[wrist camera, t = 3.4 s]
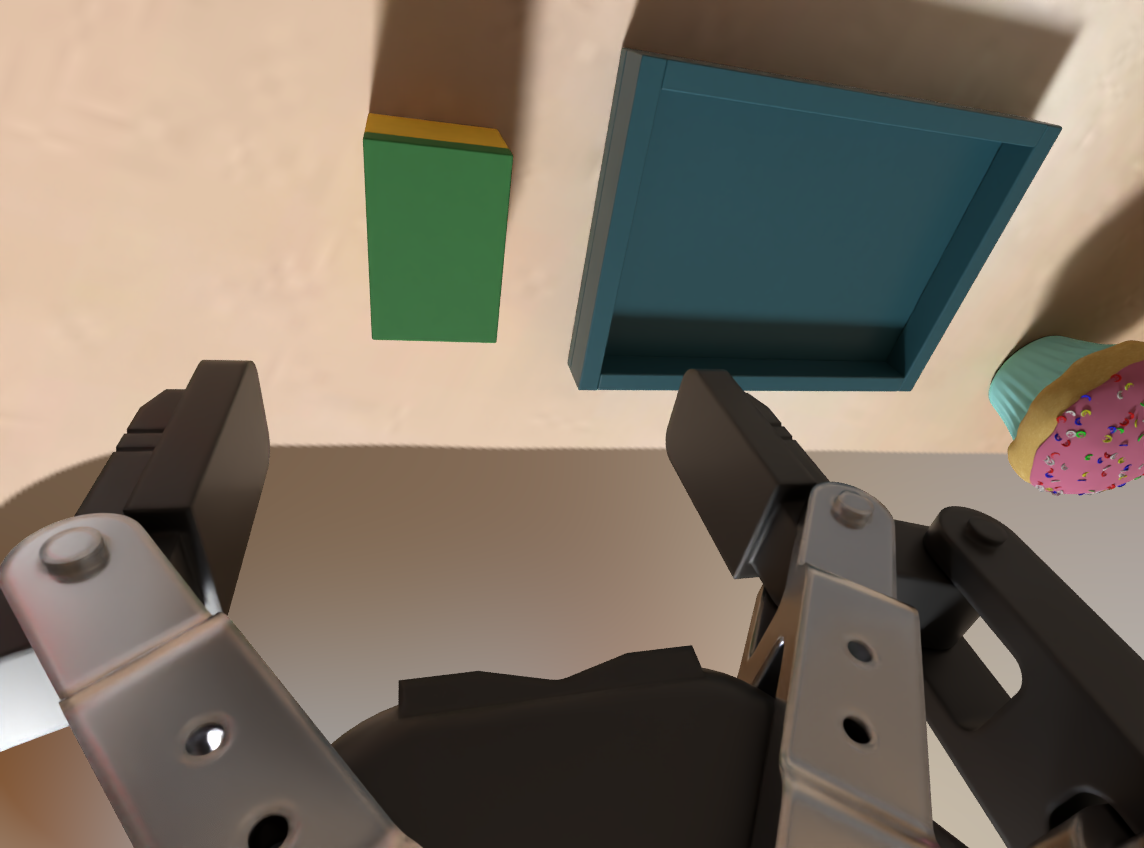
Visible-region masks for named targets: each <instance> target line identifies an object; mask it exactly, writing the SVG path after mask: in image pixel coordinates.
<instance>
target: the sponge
mask: <svg viewBox="0 0 1144 848" xmlns="http://www.w3.org/2000/svg"><path fill="white" fill-rule="evenodd" d="M363 152H364V173H365V195H366V217H367V239H368V261H369V283H370V305H371V327H372V339H373V340H406V341H444V342H481V343H496V340H497V329H498V318H499V307H500V296H501V285H502V274H503V263H504V252H505V241H506V230H507V219H508V208H509V197H510V186H511V175H512V164H513V155H512V153H511V151H510V150H509V148H508V146H507V145H506V143H505V141H504V140H503V138H502V137H501V135H500V133H499V132H498V130H497V129H492V128H484V127H476V126H468V125H460V124H452V123H444V122H436V121H428V120H420V119H412V118H405V117H397V116H389V115H381V114H373V113H369V114H368V118H367V123H366V127H365V132H364V137H363Z"/></svg>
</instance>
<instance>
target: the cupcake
mask: <svg viewBox="0 0 1144 848" xmlns="http://www.w3.org/2000/svg"><path fill="white" fill-rule="evenodd" d="M989 399H990V402H991V404H992V406H993V407H994V408H995V410H996V411H997V412H998V414H999V415H1000V417H1001V418H1002V420H1003V421H1004V423H1005V425H1006V426H1007V428H1008V430H1009V432H1010V434H1011V436H1012V438H1013V442H1012V443H1011V444H1010V445H1009V447H1008V460H1009V462H1010V464H1011V466H1012V468H1013V469H1014V470H1015V472H1016V473H1017V474H1018V475H1019V476H1020V477H1021V478H1022V479H1023V480H1025V481H1027V482H1029V483H1031V484H1032V485H1033V486H1035V487H1036V488H1038V489H1039V491H1041V492H1042V491H1048V492H1051V493H1052V494H1053V495H1054V496H1059V495H1060V494H1078V495H1083V494H1085V495H1092V494H1093V493H1100V492H1102V491H1105V490H1110V489H1113V488H1115V487H1116V486H1118V487H1122V486H1124V485H1125V484H1126V482H1129V481H1131V480H1133V479H1134V480H1136V479H1138V478H1140V477H1141V476H1142V475H1144V342H1140V341H1133V340H1131V341H1125V342H1122V343H1119V344H1110V345H1109V344H1098V343H1092V342H1087V341H1082V340H1077V339H1072V338H1068V337H1064V336H1048V337H1044V338H1041V339H1038V340H1035V341H1033V342H1031V343H1029V344H1028V345H1026V346H1024V347H1023V348H1021V349H1020V350H1018V351H1017V352H1016V353H1015V354H1013V355H1012V356H1011V357H1010V358H1009V359H1008V360H1007V361H1006V362H1005V363H1004V364H1003V365H1002V367H1001V368H1000V369H999V370H998V372H997V373H996V375H995V377H994V378H993V380H992V383H991V385H990V389H989ZM1122 484H1123V485H1122ZM1120 485H1121V486H1120ZM1055 493H1056V494H1057V495H1056V494H1055ZM1087 493H1089V494H1087Z"/></svg>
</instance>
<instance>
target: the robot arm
mask: <svg viewBox="0 0 1144 848" xmlns="http://www.w3.org/2000/svg"><path fill="white" fill-rule="evenodd" d="M666 450H667V454H668V457H669V459H670V461H671V463H672V465H673V467H674V469H675V471H676V472H677V474H678V476H679V478H680V480H681V482H682V483H683V485H684V487H685V489H686V491H687V493H688V495H689V497H690V498H691V500H692V502H693V504H694V506H695V508H696V510H697V511H698V513H699V515H700V517H701V519H702V521H703V523H704V524H705V526H706V528H707V530H708V532H709V534H710V535H711V537H712V539H713V541H714V543H715V545H716V547H717V548H718V550H719V552H720V554H721V556H722V558H723V559H724V561H725V563H726V565H727V567H728V569H729V571H730V572H731V574H732V576H733V578H734V579H741V578H753V577H759V578H760V580H761V581H762V583H763V585H762V587H761V589H760V591H759V593H758V595H757V598H756V602H755V607H754V611H753V615H752V619H751V623H750V628H749V632H748V636H747V641H746V644H745V649H744V653H743V657H742V662H741V665H740V669H739V673H738V676H737V678H736V677H733V676H730V675H728V674H725V673H721V672H717V671H714V670H710V669H706V668H701V665H700V663H699V661H698V658H697V656H696V654H695V652H694V649H693V647H692V646H682V647H674V648H666V649H657V650H649V651H640V652H632V653H626V654H624V655H621V656H619V657H616V658H614V659H611V660H609V661H606V662H604V663H602V664H599V665H597V666H594V667H592V668H589V669H587V670H584V671H582V672H580V673H577V674H575V675H572V676H570V677H568V678H564V679H560V680H549V679H541V678H532V677H523V676H516V675H507V674H499V673H491V672H483V671H474V672H465V673H458V674H449V675H441V676H432V677H424V678H416V679H407V680H399V705H397V706H394V707H392V708H389V709H387V710H385V711H382V712H380V713H378V714H376V715H374V716H372V717H370V718H368V719H366V720H365V721H363V722H361V723H359V724H358V725H356V726H355V727H353V728H352V729H350V730H349V731H347V732H346V733H345V734H343V735H342V736H341V737H339V738H338V739H337V740H336V741H335V742H333V743H332V744H330V743H329V742H328V740H327V739H326V738H325V736H324V735H323V734H322V733H321V731H320V730H319V729H318V728H317V727H316V725H315V724H314V723H313V721H312V720H311V719H310V718H309V716H308V715H307V714H306V713H305V711H304V710H303V709H302V708H301V707H300V705H299V704H298V703H297V701H296V700H295V699H294V698H293V697H292V695H291V694H290V693H289V692H288V690H287V689H286V688H285V686H284V685H283V684H282V683H281V681H280V680H279V679H278V678H277V676H276V675H275V674H274V673H273V671H272V670H271V669H270V668H269V667H268V665H267V664H266V663H265V661H264V660H263V659H262V658H261V656H260V655H259V654H258V653H257V652H256V650H255V649H254V648H253V647H252V645H251V644H250V643H249V642H248V640H247V639H246V638H245V636H244V635H243V634H242V633H241V631H240V630H239V629H238V628H237V627H236V625H235V624H234V623H233V622H232V621H231V620H230V618H229V617H228V612H229V609H230V605H231V601H232V598H233V594H234V591H235V587H236V583H237V580H238V576H239V572H240V569H241V565H242V561H243V558H244V554H245V550H246V547H247V543H248V540H249V536H250V532H251V528H252V525H253V521H254V518H255V514H256V510H257V507H258V503H259V500H260V495H261V492H262V488H263V485H264V481H265V477H266V474H267V470H268V466H269V458H270V440H269V432H268V427H267V421H266V416H265V410H264V405H263V400H262V394H261V389H260V383H259V378H258V373H257V369H256V366H255V364H254V362H253V361H235V360H202V361H201V362H200V363H199V364H198V366H197V368H196V370H195V372H194V374H193V376H192V378H191V380H190V382H189V384H188V385H187V387H186V389H166V390H164V391H163V392H162V393H160V394H159V395H157V396H156V397H155V398H153V399H152V400H150V401H149V402H147V403H146V404H145V405H143V406H142V407H140V409H139V410H138V412H137V414H136V415H135V417H134V418H133V420H132V422H131V423H130V425H129V427H128V428H127V434H124V435H123V437H122V438H121V440H120V442H119V443H118V445H117V447H116V452H113V453H112V455H111V456H110V458H109V460H108V461H107V463H106V465H105V466H104V468H103V470H102V471H101V473H100V475H99V476H98V478H97V480H96V481H95V483H94V485H93V486H92V488H91V490H90V491H89V493H88V495H87V497H86V498H85V499H84V501H83V503H82V505H81V506H80V508H79V509H78V511H77V513H76V514H75V516H74V517H72V518H68V519H64V520H62V521H59V522H56V523H53V524H51V525H49V526H46V527H44V528H42V529H40V530H39V531H37V532H35V533H33V534H31V535H30V536H29V537H27V538H26V539H24V540H23V541H22V542H20V543H19V544H18V545H17V546H16V547H14V548H13V549H12V550H11V552H10V553H9V554H8V555H7V556H6V557H5V559H4V561H3V562H2V564H1V566H0V751H3V750H6V749H8V748H11V747H13V746H16V745H19V744H22V743H24V742H27V741H30V740H32V739H35V738H37V737H40V736H43V735H46V734H48V733H51V732H54V731H56V730H59V729H62V728H64V727H67V726H70V727H71V729H72V731H73V733H74V735H75V737H76V739H77V741H78V743H79V745H80V746H81V748H82V750H83V752H84V754H85V756H86V758H87V760H88V761H89V763H90V765H91V767H92V769H93V771H94V773H95V775H96V777H97V779H98V781H99V782H100V784H101V786H102V788H103V790H104V792H105V794H106V796H107V797H108V799H109V801H110V803H111V805H112V807H113V809H114V811H115V813H116V815H117V816H118V818H119V820H120V822H121V824H122V826H123V828H124V830H125V832H126V833H127V835H128V837H129V839H130V841H131V843H132V845H133V847H134V848H968V847H967V846H965V844H963V843H962V842H961V841H959V840H958V839H957V838H955V837H954V836H953V835H951V834H950V833H949V832H948V831H946V830H945V829H944V828H942V827H941V826H940V825H938V824H937V823H936V822H935V821H933V820H932V807H931V792H930V776H929V759H928V745H927V728H926V721H927V722H928V724H929V726H930V727H931V729H932V730H933V732H934V733H935V735H936V737H937V738H938V740H939V741H940V743H941V744H942V746H943V748H944V749H945V751H946V752H947V754H948V755H949V757H950V759H951V760H952V762H953V763H954V765H955V766H956V768H957V770H958V771H959V772H960V774H961V776H962V777H963V779H964V780H965V782H966V784H967V785H968V787H969V788H970V790H971V791H972V793H973V795H974V796H975V798H976V799H977V800H978V802H979V804H980V805H981V807H982V809H983V810H984V812H985V813H986V815H987V817H988V818H989V820H990V821H991V823H992V824H993V826H994V827H995V829H996V831H997V832H998V834H999V835H1000V837H1001V838H1002V840H1003V841H1004V843H1005V845H1006V846H1007V848H1144V660H1143V659H1142V658H1141V657H1140V656H1139V655H1138V654H1137V653H1136V652H1135V651H1134V650H1133V649H1132V648H1131V647H1129V646H1128V644H1127V643H1126V642H1124V640H1122V638H1121V637H1119V635H1117V634H1116V633H1115V632H1114V631H1113V630H1112V629H1111V628H1110V627H1109V626H1108V625H1107V624H1106V623H1105V622H1104V621H1103V620H1102V619H1101V618H1100V617H1099V616H1098V615H1097V614H1096V613H1095V612H1094V611H1093V610H1092V609H1091V608H1090V607H1089V606H1088V605H1087V604H1086V603H1085V602H1084V601H1083V600H1082V599H1081V598H1080V597H1079V596H1078V595H1077V594H1076V593H1075V592H1074V591H1073V590H1072V589H1071V588H1070V587H1069V586H1068V585H1067V584H1066V583H1065V582H1064V581H1063V580H1062V579H1061V578H1060V577H1059V576H1058V575H1057V574H1056V573H1055V572H1054V571H1052V569H1051V568H1050V567H1048V565H1047V564H1045V563H1044V562H1043V561H1042V560H1041V559H1040V558H1039V557H1038V556H1037V555H1036V554H1035V553H1034V552H1033V551H1032V550H1031V549H1030V548H1029V547H1028V546H1027V545H1026V544H1025V543H1024V542H1023V541H1022V540H1021V539H1020V538H1019V537H1018V536H1017V535H1016V534H1015V533H1014V532H1013V531H1012V530H1010V529H1009V528H1008V527H1007V526H1005V525H1004V524H1002V523H1001V522H999V521H998V520H996V519H994V518H992V517H990V516H988V515H986V514H984V513H982V512H979V511H976V510H974V509H970V508H966V507H959V506H951V507H947V508H944V509H943V510H941V512H940V513H939V514H938V516H937V517H936V519H935V520H934V521H933V523H932V524H931V526H930V527H929V526H924V525H919V524H914V523H908V522H904V521H898V520H894V519H893V517H892V515H891V514H890V512H889V511H888V510H887V508H886V507H885V506H884V505H883V504H882V503H881V502H879V501H878V500H877V499H876V498H875V497H873V496H871V495H870V494H868V493H867V492H865V491H863V490H861V489H859V488H856V487H854V486H851V485H848V484H844V483H839V482H830V481H829V480H828V479H827V478H826V476H825V475H824V474H823V473H822V472H821V471H820V469H819V468H818V467H817V466H816V464H815V463H814V462H813V461H812V460H811V459H810V457H809V456H808V455H807V454H806V452H805V451H804V450H803V449H802V447H801V446H800V445H799V444H798V443H797V441H796V440H792V435H791V434H790V433H789V432H788V431H787V429H786V428H785V427H781V422H780V421H779V420H778V419H777V417H776V416H775V415H774V414H773V413H772V411H771V410H770V409H769V408H768V407H767V406H766V405H764V404H763V403H761V402H760V401H758V400H757V399H756V398H754V397H753V396H751V395H750V394H748V393H745V392H744V391H743V390H742V388H741V387H740V386H739V385H738V383H737V382H736V381H735V380H734V378H733V377H732V376H731V375H730V373H729V372H728V371H726V370H724V369H689V370H688V371H686V373H685V374H684V376H683V378H682V381H681V384H680V388H679V391H678V394H677V398H676V401H675V404H674V408H673V411H672V414H671V418H670V421H669V424H668V427H667V432H666ZM980 616H981V617H982V619H983V620H984V621H985V622H986V623H987V625H988V626H989V627H990V628H991V630H992V631H993V632H994V633H995V634H996V635H997V637H998V638H999V639H1000V640H1001V642H1002V643H1003V644H1004V645H1005V646H1006V648H1007V649H1008V650H1009V651H1010V652H1011V654H1012V655H1013V656H1014V658H1015V659H1016V661H1017V662H1018V664H1019V667H1020V669H1021V673H1022V685H1021V688H1020V690H1019V691H1018V693H1017V694H1016V695H1015V696H1013V697H1012V698H1010V697H1009V695H1008V694H1007V693H1006V691H1005V690H1004V689H1003V688H1002V686H1001V685H1000V684H999V683H998V681H997V680H996V678H995V677H994V676H993V675H992V673H991V672H990V671H989V669H988V668H987V667H986V666H985V664H984V663H983V662H982V661H981V660H980V658H979V657H978V655H977V654H976V653H975V652H974V650H973V649H972V648H971V646H970V645H969V644H968V642H967V641H966V640H965V639H964V637H963V635H964V634H965V632H966V631H967V630H968V629H969V628H970V627H971V626H972V624H973V623H974V622H975V621H976V620H977V619H978V618H979V617H980Z"/></svg>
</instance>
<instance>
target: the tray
mask: <svg viewBox="0 0 1144 848" xmlns="http://www.w3.org/2000/svg"><path fill="white" fill-rule="evenodd" d="M1061 130H1062V127H1061V126H1058V125H1054V124H1050V123H1046V122H1041V121H1037V120H1033V119H1028V118H1025V117H1020V116H1015V115H1010V114H1004V113H998V112H992V111H987V110H981V109H975V108H969V107H964V106H958V105H952V104H946V103H941V102H935V101H929V100H923V99H917V98H912V97H906V96H900V95H894V94H889V93H883V92H877V91H871V90H866V89H860V88H854V87H848V86H843V85H837V84H831V83H825V82H820V81H814V80H808V79H802V78H797V77H791V76H785V75H779V74H774V73H768V72H762V71H756V70H751V69H745V68H739V67H733V66H728V65H722V64H716V63H710V62H705V61H699V60H693V59H687V58H682V57H676V56H670V55H664V54H659V53H653V52H647V51H641V50H636V49H630V48H622V51H621V57H620V62H619V68H618V74H617V80H616V85H615V91H614V97H613V103H612V109H611V114H610V120H609V126H608V132H607V138H606V143H605V149H604V155H603V161H602V166H601V172H600V178H599V184H598V190H597V195H596V201H595V207H594V213H593V219H592V224H591V230H590V236H589V242H588V247H587V253H586V259H585V265H584V271H583V276H582V282H581V288H580V294H579V300H578V305H577V311H576V317H575V323H574V329H573V334H572V340H571V346H570V352H569V357H568V366H569V368H570V370H571V373H572V375H573V378H574V380H575V382H576V385H577V387H578V389H579V390H597V389H598V390H679V388H680V384H681V381H682V378H683V376H684V374H685V373H686V371H688V370H689V369H724V370H726V371H728V372H729V373H730V375H731V376H732V377H733V378H734V380H735V381H736V382H737V383H738V385H739V386H740V387H741V388H742V390H743V391H911V390H912V388H913V387H914V385H915V383H916V381H917V380H918V378H919V376H920V375H921V373H922V371H923V369H924V368H925V366H926V364H927V362H928V361H929V359H930V357H931V355H932V354H933V352H934V350H935V349H936V347H937V345H938V343H939V342H940V340H941V338H942V336H943V335H944V333H945V331H946V329H947V328H948V326H949V324H950V323H951V321H952V319H953V317H954V316H955V314H956V312H957V310H958V309H959V307H960V305H961V303H962V302H963V300H964V298H965V297H966V295H967V293H968V291H969V290H970V288H971V286H972V284H973V283H974V281H975V279H976V277H977V276H978V274H979V272H980V271H981V269H982V267H983V265H984V264H985V262H986V260H987V258H988V257H989V255H990V253H991V251H992V250H993V248H994V246H995V244H996V243H997V241H998V239H999V238H1000V236H1001V234H1002V232H1003V231H1004V229H1005V227H1006V225H1007V224H1008V222H1009V220H1010V218H1011V217H1012V215H1013V213H1014V212H1015V210H1016V208H1017V206H1018V205H1019V203H1020V201H1021V199H1022V198H1023V196H1024V194H1025V192H1026V191H1027V189H1028V187H1029V186H1030V184H1031V182H1032V180H1033V179H1034V177H1035V175H1036V173H1037V172H1038V170H1039V168H1040V166H1041V165H1042V163H1043V161H1044V160H1045V158H1046V156H1047V154H1048V153H1049V151H1050V149H1051V147H1052V146H1053V144H1054V142H1055V140H1056V139H1057V137H1058V135H1059V134H1060V132H1061Z"/></svg>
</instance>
